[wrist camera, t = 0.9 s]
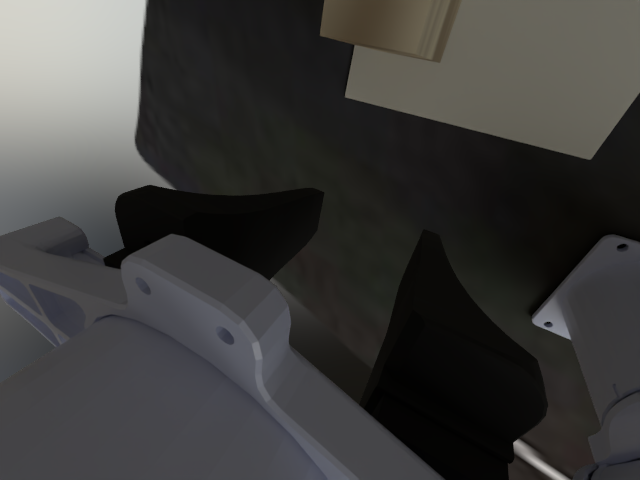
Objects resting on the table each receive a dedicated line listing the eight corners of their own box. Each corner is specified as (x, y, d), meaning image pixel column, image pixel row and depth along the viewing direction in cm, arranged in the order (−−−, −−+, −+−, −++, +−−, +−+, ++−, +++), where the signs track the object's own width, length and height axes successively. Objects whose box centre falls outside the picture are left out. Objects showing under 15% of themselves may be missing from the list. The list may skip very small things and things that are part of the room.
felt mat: (783, -111, 10) (790, -116, 10) (588, 158, 16) (590, 159, 16) (388, -117, 14) (386, -121, 14) (346, 96, 20) (344, 97, 20)
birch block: (471, -29, 14) (465, -111, 8) (440, 62, 17) (415, 54, 10) (396, -36, 15) (339, -114, 9) (376, 50, 18) (319, 35, 11)
